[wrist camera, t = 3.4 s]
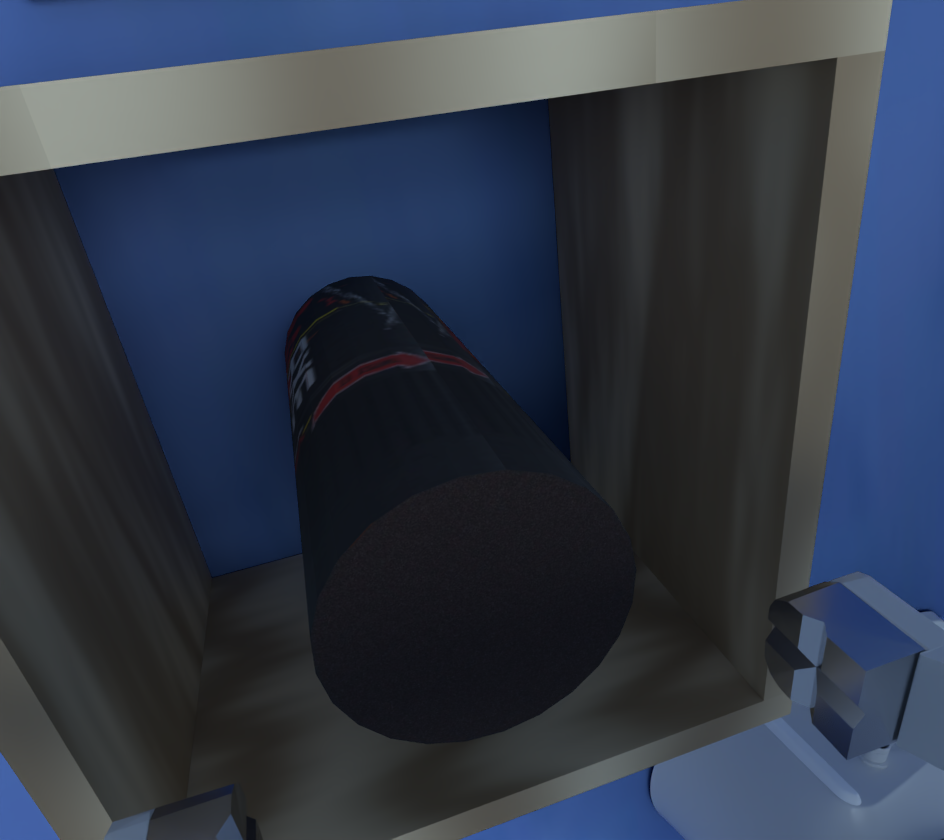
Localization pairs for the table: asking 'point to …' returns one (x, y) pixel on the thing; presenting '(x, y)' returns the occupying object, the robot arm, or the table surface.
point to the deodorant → (439, 527)
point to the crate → (588, 401)
